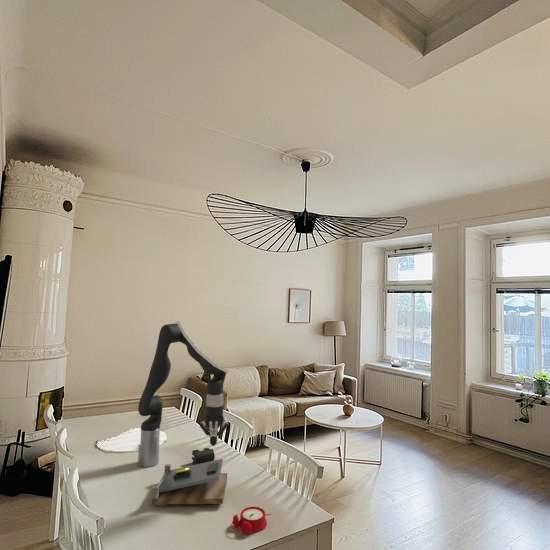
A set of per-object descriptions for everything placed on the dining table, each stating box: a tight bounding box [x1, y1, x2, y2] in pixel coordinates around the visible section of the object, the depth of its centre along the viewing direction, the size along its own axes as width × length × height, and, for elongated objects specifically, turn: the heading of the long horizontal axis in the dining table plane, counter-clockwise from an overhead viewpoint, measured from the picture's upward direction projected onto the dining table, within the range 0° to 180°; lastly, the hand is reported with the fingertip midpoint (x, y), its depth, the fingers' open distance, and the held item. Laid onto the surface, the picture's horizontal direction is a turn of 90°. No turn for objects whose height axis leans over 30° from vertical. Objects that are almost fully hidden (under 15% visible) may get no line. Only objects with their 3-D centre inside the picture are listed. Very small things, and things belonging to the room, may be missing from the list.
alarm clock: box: [230, 506, 272, 536], centre depth 139 cm, size 10×6×15 cm
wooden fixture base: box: [150, 463, 228, 507], centre depth 162 cm, size 28×23×8 cm
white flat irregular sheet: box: [95, 427, 168, 454], centre depth 223 cm, size 40×39×3 cm
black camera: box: [191, 447, 215, 465], centre depth 193 cm, size 10×7×7 cm
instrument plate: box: [156, 458, 224, 493], centre depth 162 cm, size 26×18×4 cm
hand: (213, 445), depth 164 cm, fingers closed
